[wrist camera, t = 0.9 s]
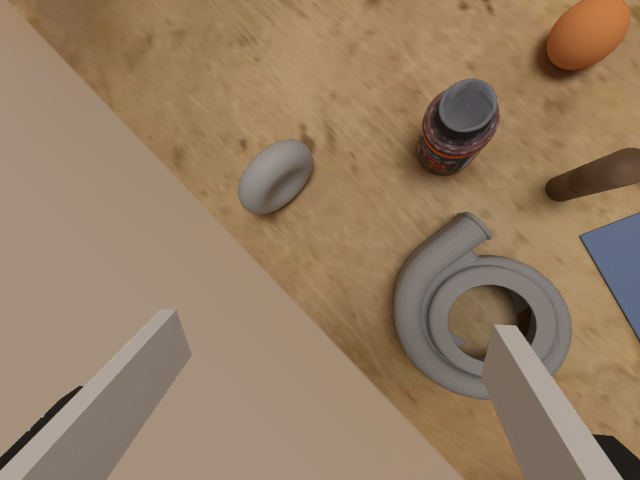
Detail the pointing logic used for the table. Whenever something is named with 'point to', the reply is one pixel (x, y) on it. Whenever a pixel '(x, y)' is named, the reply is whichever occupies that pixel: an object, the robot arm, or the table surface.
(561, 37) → the orange egg
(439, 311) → the turbocharger housing
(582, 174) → the post
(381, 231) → the table surface
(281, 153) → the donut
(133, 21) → the table surface
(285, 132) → the table surface
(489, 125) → the supplement bottle
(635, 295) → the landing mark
